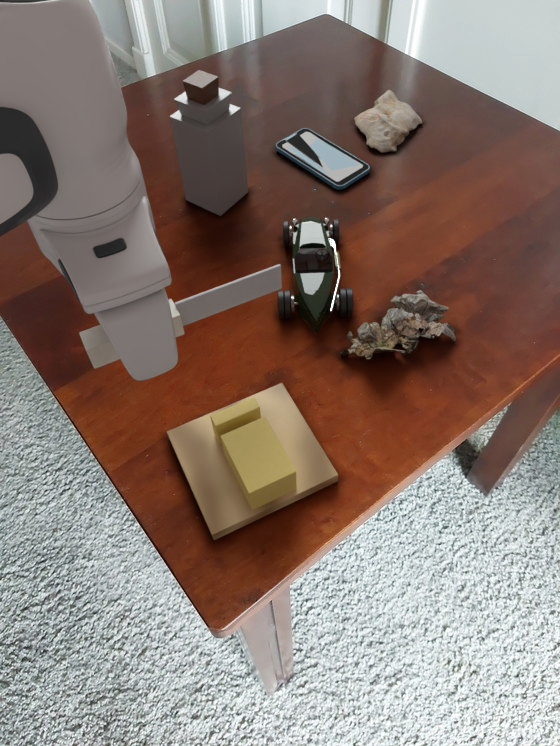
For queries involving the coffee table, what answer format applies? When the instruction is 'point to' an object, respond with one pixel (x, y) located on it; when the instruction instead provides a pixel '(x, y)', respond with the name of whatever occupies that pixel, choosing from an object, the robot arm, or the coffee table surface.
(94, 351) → the knife
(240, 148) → the perfume bottle
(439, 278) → the coffee table surface
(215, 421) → the butter slice
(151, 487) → the coffee table surface
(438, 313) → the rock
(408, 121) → the stone
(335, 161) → the smartphone
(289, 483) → the butter
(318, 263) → the toy car
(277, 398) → the butter board
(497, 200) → the coffee table surface
